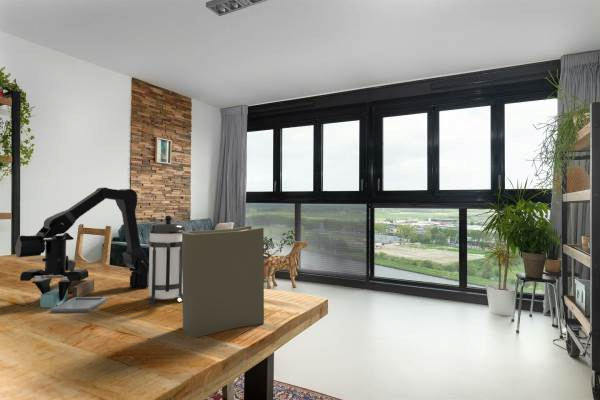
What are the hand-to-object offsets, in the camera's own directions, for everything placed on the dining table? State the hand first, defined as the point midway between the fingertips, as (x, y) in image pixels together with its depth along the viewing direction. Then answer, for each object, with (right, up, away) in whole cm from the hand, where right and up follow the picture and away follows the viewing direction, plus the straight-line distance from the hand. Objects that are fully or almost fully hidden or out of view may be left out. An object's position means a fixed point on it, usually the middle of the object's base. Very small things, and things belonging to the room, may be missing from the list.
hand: (54, 300), depth 115 cm
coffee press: (+35, -2, +7) cm, 36 cm away
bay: (-1, -1, +10) cm, 10 cm away
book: (+60, -2, -17) cm, 62 cm away
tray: (+10, -1, -2) cm, 10 cm away
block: (0, +1, +4) cm, 4 cm away
